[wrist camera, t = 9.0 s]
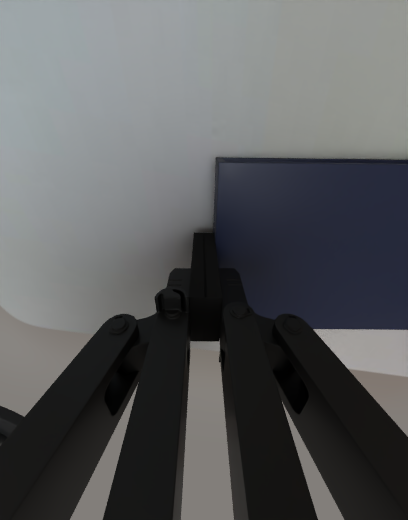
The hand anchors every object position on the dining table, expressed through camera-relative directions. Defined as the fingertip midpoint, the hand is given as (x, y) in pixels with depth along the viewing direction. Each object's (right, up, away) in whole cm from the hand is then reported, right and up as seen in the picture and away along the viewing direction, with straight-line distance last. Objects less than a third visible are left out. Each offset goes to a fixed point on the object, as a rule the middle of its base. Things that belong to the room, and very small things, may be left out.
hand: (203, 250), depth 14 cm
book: (+9, +1, +1) cm, 9 cm away
